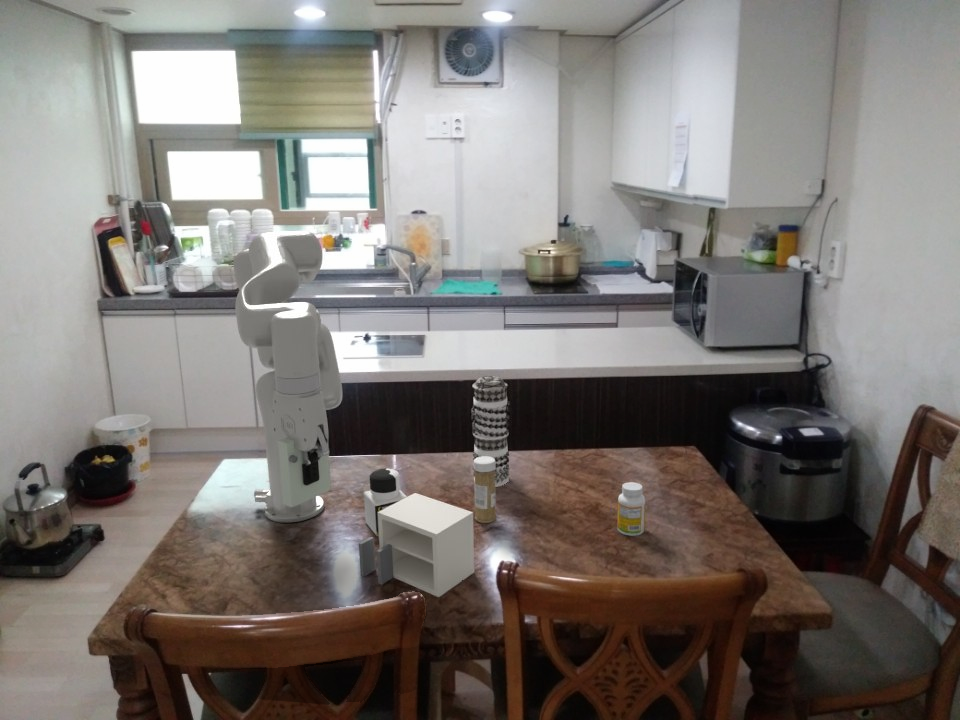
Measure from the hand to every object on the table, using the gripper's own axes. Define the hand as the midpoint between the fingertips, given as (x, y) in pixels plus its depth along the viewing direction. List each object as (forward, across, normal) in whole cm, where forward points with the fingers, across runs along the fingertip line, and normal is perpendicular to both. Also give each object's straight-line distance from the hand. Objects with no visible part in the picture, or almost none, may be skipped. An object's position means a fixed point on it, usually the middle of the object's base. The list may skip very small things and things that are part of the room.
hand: (305, 479), depth 131 cm
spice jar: (+18, +14, +35) cm, 42 cm away
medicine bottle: (+18, -1, +20) cm, 27 cm away
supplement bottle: (+18, +41, +48) cm, 66 cm away
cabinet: (+18, +17, +10) cm, 27 cm away
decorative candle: (+19, +3, +51) cm, 55 cm away
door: (+3, 0, 0) cm, 3 cm away
